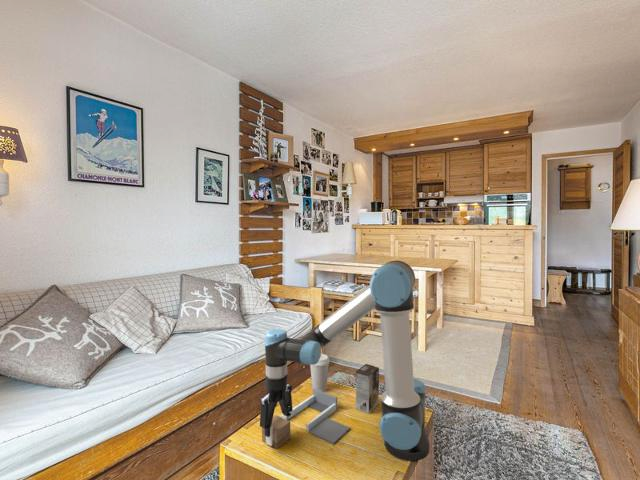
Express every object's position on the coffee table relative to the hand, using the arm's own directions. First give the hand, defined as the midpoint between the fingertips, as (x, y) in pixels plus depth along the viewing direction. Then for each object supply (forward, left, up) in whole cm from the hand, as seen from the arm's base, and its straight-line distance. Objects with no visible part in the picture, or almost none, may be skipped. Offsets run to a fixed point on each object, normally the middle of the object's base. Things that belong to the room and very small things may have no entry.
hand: (277, 438), depth 121 cm
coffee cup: (+10, -38, -1) cm, 40 cm away
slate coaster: (-12, -15, -1) cm, 20 cm away
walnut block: (0, 0, 0) cm, 1 cm away
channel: (0, -19, -1) cm, 20 cm away
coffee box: (-15, -38, -1) cm, 41 cm away
